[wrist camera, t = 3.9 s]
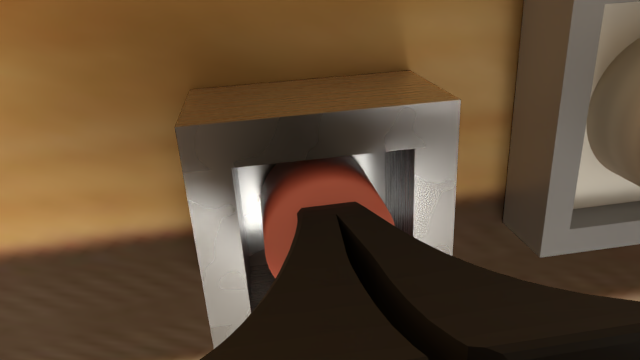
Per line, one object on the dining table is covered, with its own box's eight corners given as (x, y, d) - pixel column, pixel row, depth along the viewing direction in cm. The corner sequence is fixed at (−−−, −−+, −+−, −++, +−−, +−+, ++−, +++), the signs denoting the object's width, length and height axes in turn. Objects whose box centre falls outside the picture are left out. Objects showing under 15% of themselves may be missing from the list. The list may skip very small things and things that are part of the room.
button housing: (407, 256, 16) (448, 325, 13) (220, 280, 16) (215, 360, 12) (410, 70, 14) (461, 99, 11) (190, 89, 13) (174, 127, 10)
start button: (371, 240, 14) (396, 291, 12) (266, 254, 14) (271, 308, 12) (369, 141, 13) (396, 176, 11) (254, 153, 13) (258, 192, 11)
